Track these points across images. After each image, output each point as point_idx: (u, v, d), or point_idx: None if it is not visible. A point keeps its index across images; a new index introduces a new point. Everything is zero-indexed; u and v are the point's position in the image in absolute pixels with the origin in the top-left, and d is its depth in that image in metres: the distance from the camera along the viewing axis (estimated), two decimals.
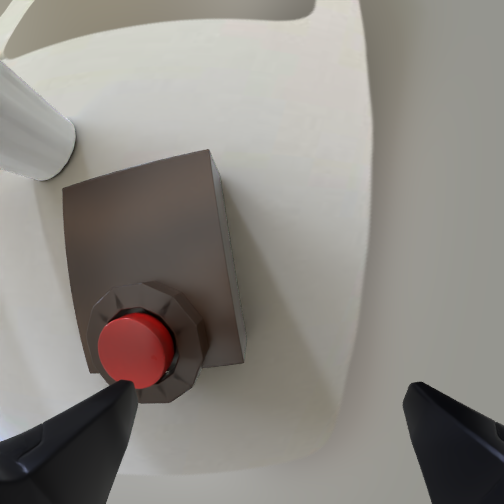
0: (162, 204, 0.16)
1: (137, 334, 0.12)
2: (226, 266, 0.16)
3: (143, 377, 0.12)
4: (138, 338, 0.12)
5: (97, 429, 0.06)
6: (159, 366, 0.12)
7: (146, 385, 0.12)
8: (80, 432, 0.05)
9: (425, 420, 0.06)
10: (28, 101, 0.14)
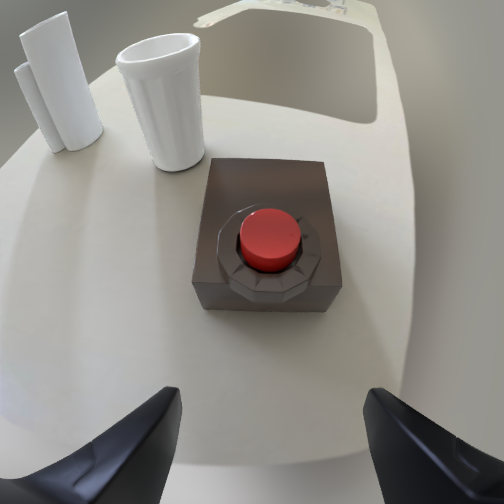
0: (292, 181, 0.24)
1: (281, 219, 0.18)
2: (333, 221, 0.22)
3: (278, 248, 0.17)
4: (281, 222, 0.18)
5: (151, 442, 0.06)
6: (295, 241, 0.17)
7: (279, 255, 0.17)
8: (137, 448, 0.05)
9: (381, 429, 0.07)
10: (198, 99, 0.27)
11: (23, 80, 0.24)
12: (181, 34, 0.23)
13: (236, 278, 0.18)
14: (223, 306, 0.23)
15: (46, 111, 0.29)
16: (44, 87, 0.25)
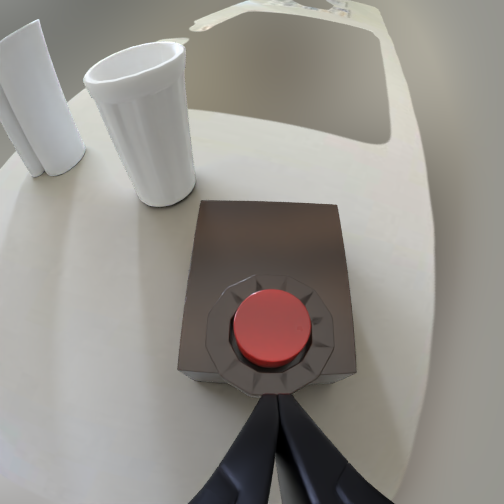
0: (299, 232, 0.20)
1: (287, 305, 0.14)
2: (348, 287, 0.18)
3: (282, 348, 0.13)
4: (287, 309, 0.14)
5: (275, 453, 0.06)
6: (303, 337, 0.13)
7: (283, 357, 0.13)
8: (273, 462, 0.05)
9: (279, 438, 0.07)
10: (185, 122, 0.23)
11: None
12: (164, 42, 0.19)
13: (229, 378, 0.13)
14: (217, 381, 0.19)
15: (21, 132, 0.25)
16: (16, 107, 0.21)
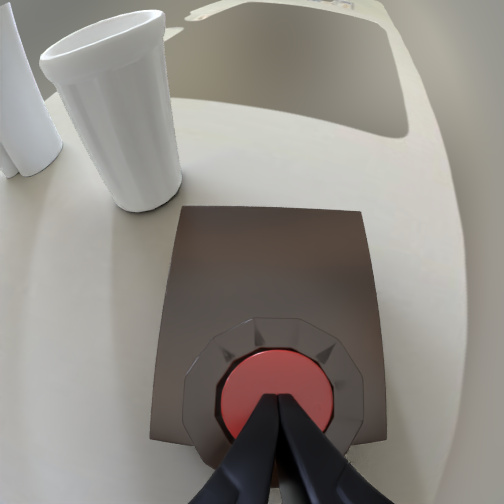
0: (313, 250, 0.15)
1: (299, 373, 0.09)
2: (379, 326, 0.13)
3: None
4: (299, 379, 0.09)
5: (275, 453, 0.06)
6: (322, 420, 0.08)
7: None
8: (273, 462, 0.05)
9: (279, 438, 0.07)
10: (166, 107, 0.17)
11: None
12: (141, 11, 0.13)
13: (217, 465, 0.08)
14: None
15: None
16: None
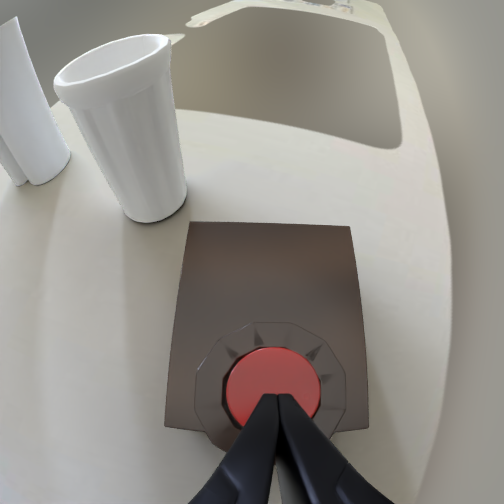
0: (306, 262, 0.17)
1: (292, 367, 0.11)
2: (363, 329, 0.15)
3: None
4: (292, 372, 0.11)
5: (275, 453, 0.06)
6: (311, 407, 0.10)
7: None
8: (273, 462, 0.05)
9: (279, 438, 0.07)
10: (173, 127, 0.19)
11: None
12: (147, 35, 0.15)
13: (223, 446, 0.10)
14: None
15: (2, 139, 0.22)
16: None
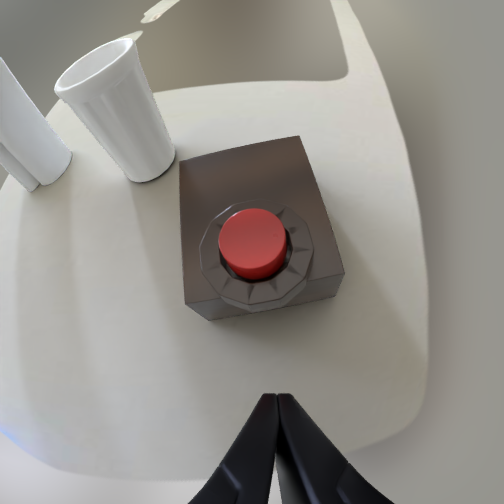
0: (269, 165, 0.22)
1: (261, 219, 0.16)
2: (322, 200, 0.20)
3: (263, 254, 0.15)
4: (261, 222, 0.16)
5: (275, 453, 0.06)
6: (280, 242, 0.15)
7: (265, 262, 0.15)
8: (273, 462, 0.05)
9: (279, 438, 0.07)
10: (152, 102, 0.24)
11: None
12: (115, 41, 0.19)
13: (227, 294, 0.16)
14: (227, 314, 0.22)
15: (10, 155, 0.28)
16: None
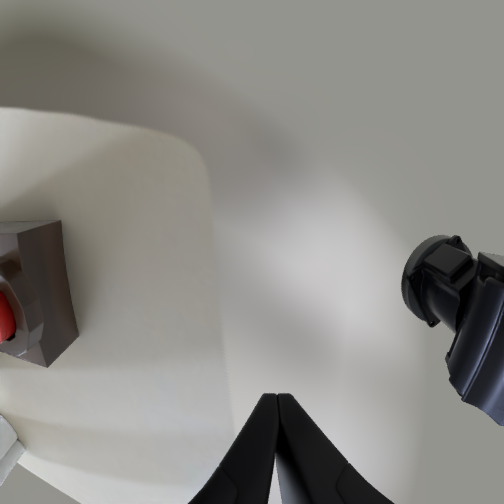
0: None
1: None
2: None
3: None
4: None
5: (275, 453, 0.06)
6: None
7: None
8: (273, 462, 0.05)
9: (279, 438, 0.07)
10: None
11: None
12: None
13: (26, 344, 0.14)
14: (69, 322, 0.20)
15: None
16: None
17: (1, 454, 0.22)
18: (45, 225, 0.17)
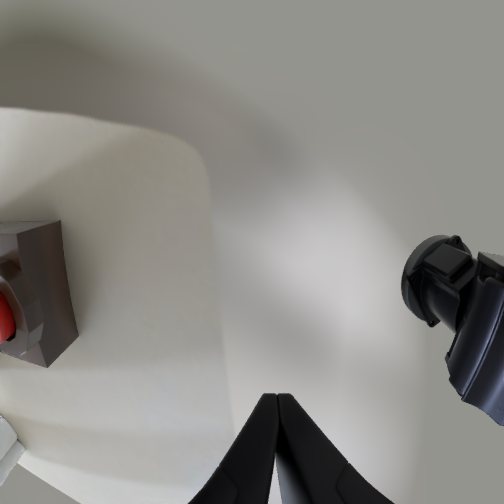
0: None
1: None
2: None
3: None
4: None
5: (275, 453, 0.06)
6: None
7: None
8: (273, 462, 0.05)
9: (279, 438, 0.07)
10: None
11: None
12: None
13: (25, 345, 0.14)
14: (69, 322, 0.20)
15: None
16: None
17: (1, 454, 0.22)
18: (45, 225, 0.17)
